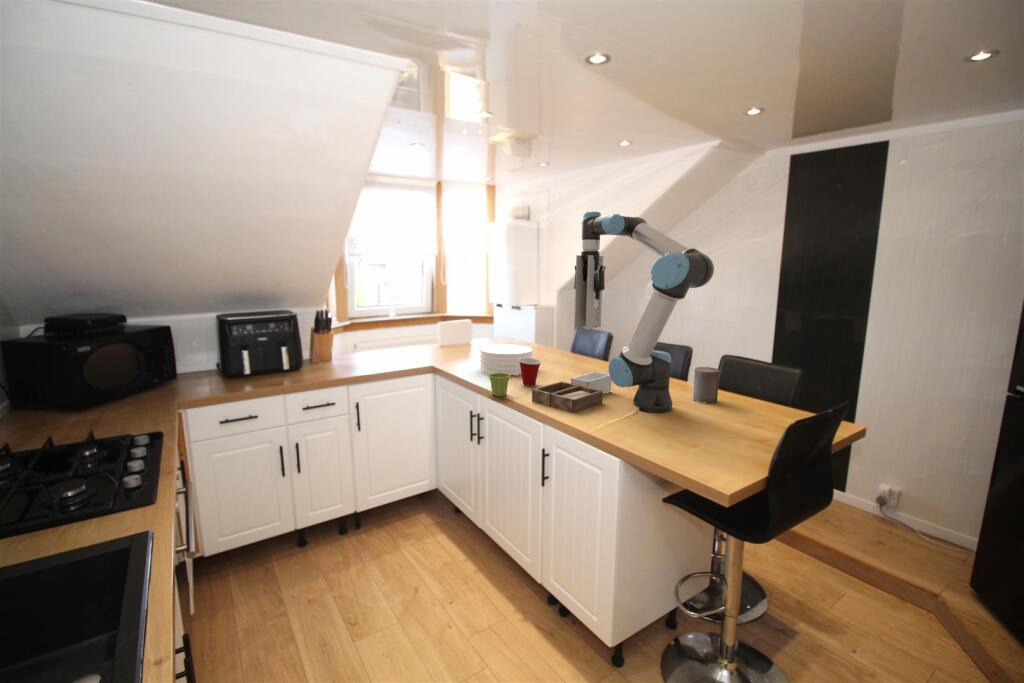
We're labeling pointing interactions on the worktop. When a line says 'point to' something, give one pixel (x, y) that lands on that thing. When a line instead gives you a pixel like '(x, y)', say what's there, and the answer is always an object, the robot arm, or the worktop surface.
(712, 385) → the pillar candle
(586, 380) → the holder
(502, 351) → the plate stack
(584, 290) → the brochure
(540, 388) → the tray
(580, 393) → the offcut top
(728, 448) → the worktop surface
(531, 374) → the plastic cup
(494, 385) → the plant pot
